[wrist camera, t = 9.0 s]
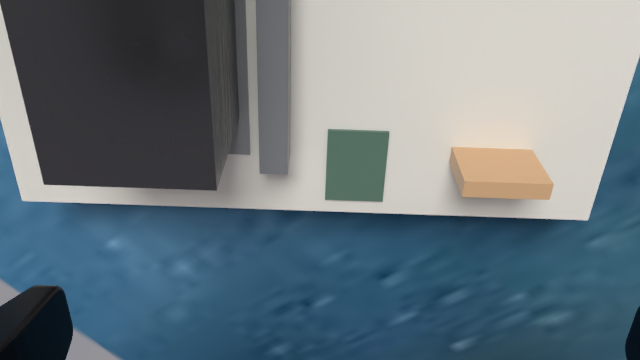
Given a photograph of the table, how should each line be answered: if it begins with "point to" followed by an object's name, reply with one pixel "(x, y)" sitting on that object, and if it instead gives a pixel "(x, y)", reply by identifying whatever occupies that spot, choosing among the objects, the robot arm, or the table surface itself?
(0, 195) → the table surface
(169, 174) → the battery
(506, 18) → the cradle
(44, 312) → the robot arm
